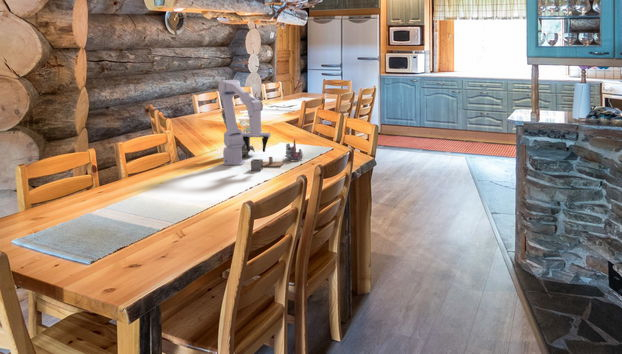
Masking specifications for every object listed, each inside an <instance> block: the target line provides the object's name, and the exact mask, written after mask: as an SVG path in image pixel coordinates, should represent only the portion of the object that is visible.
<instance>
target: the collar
mask: <svg viewBox="0 0 622 354" xmlns="http://www.w3.org/2000/svg"><path fill="white" fill-rule="evenodd" d="M263 160H264V159H263V158H258V159H257V158H256V159H255V158H253V159H251V160H250V172H261V170H263V169H264V167H263V162H264V161H263Z"/></svg>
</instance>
